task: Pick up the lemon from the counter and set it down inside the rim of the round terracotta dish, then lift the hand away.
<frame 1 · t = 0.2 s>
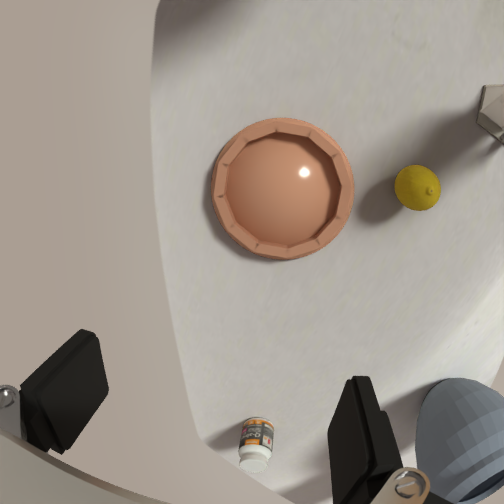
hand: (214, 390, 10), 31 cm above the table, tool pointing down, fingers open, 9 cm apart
skyscraper: (492, 110, 31), on the table
lemon: (404, 184, 36), on the table
dish: (282, 188, 38), on the table
pill bottle: (258, 425, 50), on the table
vase: (442, 393, 45), on the table
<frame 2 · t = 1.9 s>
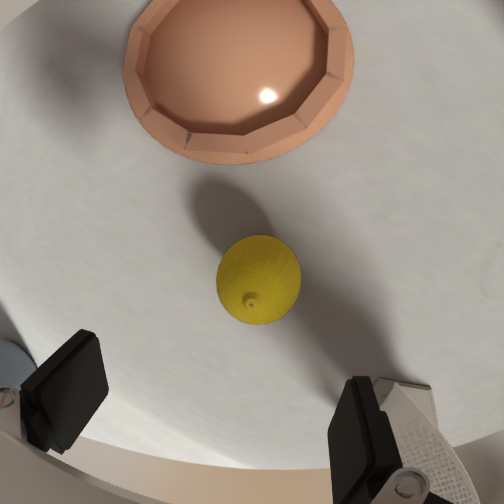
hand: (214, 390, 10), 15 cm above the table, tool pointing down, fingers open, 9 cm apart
skyscraper: (396, 401, 27), on the table
lemon: (264, 258, 24), on the table
dish: (233, 53, 20), on the table
vase: (24, 363, 34), on the table
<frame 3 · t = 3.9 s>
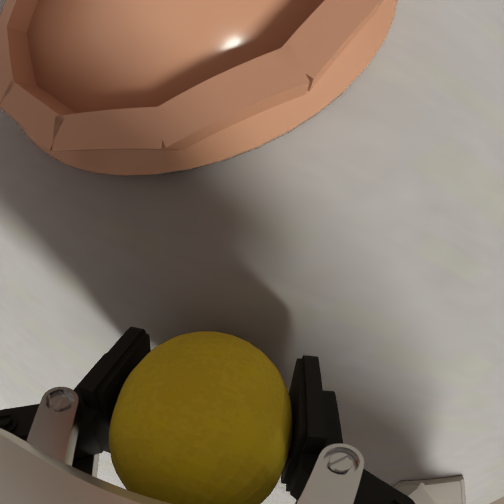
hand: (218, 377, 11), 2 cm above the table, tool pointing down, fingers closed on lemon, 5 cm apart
skyscraper: (417, 494, 15), on the table
lemon: (226, 351, 12), on the table, touching gripper
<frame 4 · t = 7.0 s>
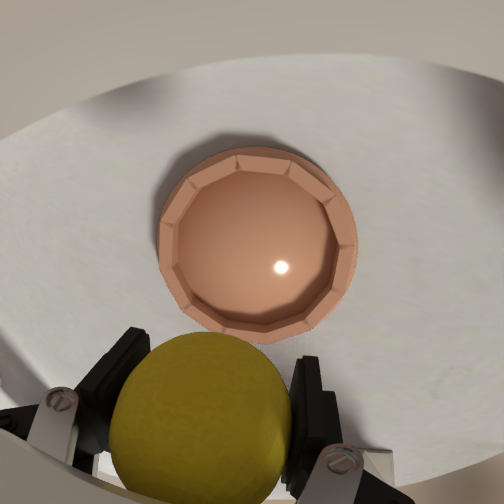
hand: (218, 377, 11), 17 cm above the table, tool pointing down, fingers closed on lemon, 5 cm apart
skyscraper: (366, 459, 35), on the table
lemon: (226, 352, 12), point 16 cm above the table, touching gripper
dish: (255, 249, 27), on the table
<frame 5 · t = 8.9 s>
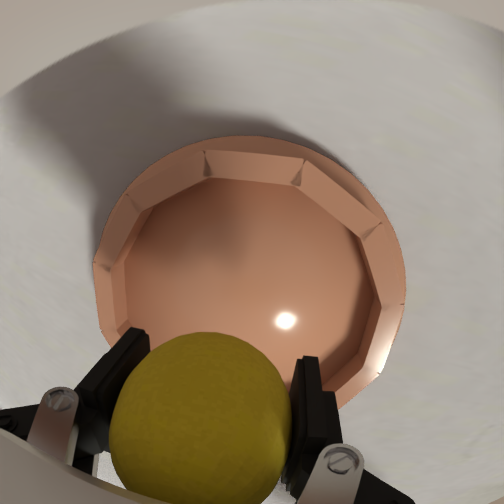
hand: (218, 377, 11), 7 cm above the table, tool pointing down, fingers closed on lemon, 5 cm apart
lemon: (226, 352, 12), point 5 cm above the table, touching gripper
dish: (243, 303, 17), on the table
when the fingers open (4 cm above the table, at t = 10.4 s): lemon drops 1 cm, resting on dish.
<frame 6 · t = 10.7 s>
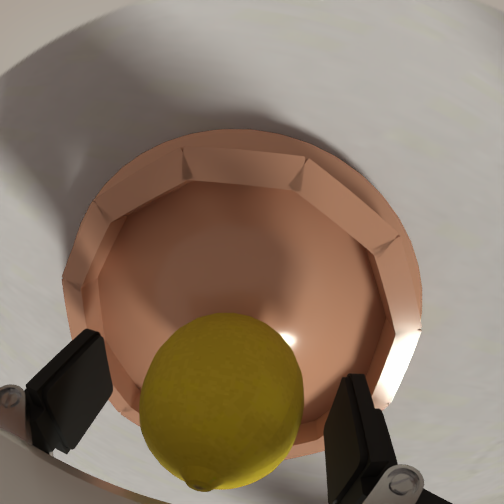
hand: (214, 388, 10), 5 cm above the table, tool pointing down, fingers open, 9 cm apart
lemon: (240, 335, 14), point 1 cm above the table, touching dish
dish: (234, 325, 15), on the table
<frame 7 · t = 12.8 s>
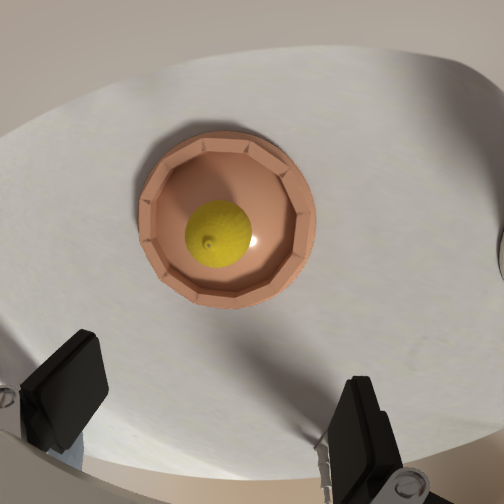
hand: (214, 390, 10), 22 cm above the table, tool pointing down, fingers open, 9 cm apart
skyscraper: (349, 435, 38), on the table
lemon: (226, 224, 29), point 1 cm above the table, touching dish
dish: (224, 222, 30), on the table
vase: (63, 412, 43), on the table
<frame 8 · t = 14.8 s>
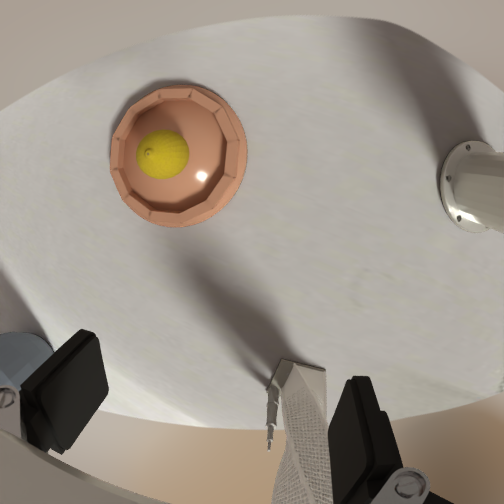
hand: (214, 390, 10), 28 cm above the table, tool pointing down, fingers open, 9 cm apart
skyscraper: (300, 377, 43), on the table
lemon: (176, 155, 35), point 1 cm above the table, touching dish
dish: (175, 155, 36), on the table
vase: (43, 351, 49), on the table
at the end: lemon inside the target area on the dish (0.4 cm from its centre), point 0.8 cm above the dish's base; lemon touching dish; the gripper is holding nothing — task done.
